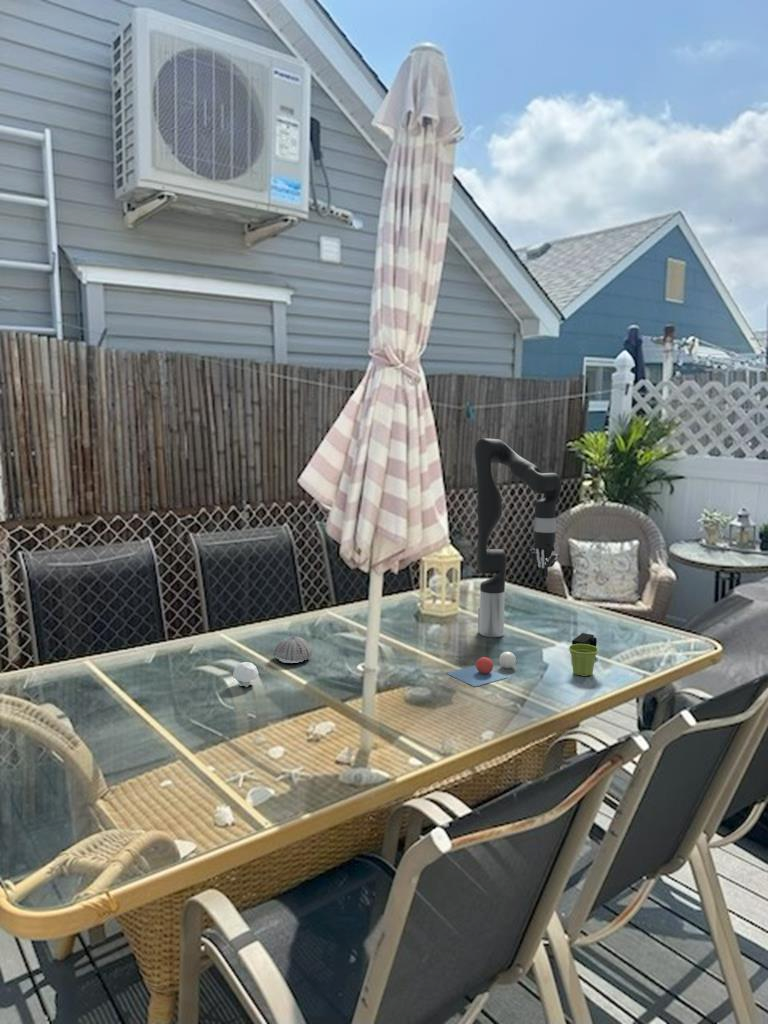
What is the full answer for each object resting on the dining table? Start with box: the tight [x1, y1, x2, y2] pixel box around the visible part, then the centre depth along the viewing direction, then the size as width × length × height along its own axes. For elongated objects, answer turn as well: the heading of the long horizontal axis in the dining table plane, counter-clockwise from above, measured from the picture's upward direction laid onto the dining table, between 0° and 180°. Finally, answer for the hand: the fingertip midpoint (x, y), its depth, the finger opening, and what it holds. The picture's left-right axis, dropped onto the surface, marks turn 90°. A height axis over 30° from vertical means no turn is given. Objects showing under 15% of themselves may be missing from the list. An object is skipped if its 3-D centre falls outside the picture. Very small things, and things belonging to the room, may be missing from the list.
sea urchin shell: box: [273, 636, 313, 661], centre depth 248 cm, size 13×14×8 cm
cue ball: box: [498, 651, 517, 669], centre depth 240 cm, size 6×6×6 cm
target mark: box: [446, 665, 508, 688], centre depth 233 cm, size 14×14×1 cm
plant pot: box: [568, 644, 599, 677], centre depth 234 cm, size 9×9×9 cm
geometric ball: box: [232, 661, 259, 682], centre depth 224 cm, size 8×8×8 cm
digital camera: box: [571, 632, 598, 647], centre depth 250 cm, size 10×5×7 cm, turn 146°
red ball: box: [475, 656, 494, 674], centre depth 234 cm, size 6×6×6 cm
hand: (543, 577), depth 254 cm, fingers closed
